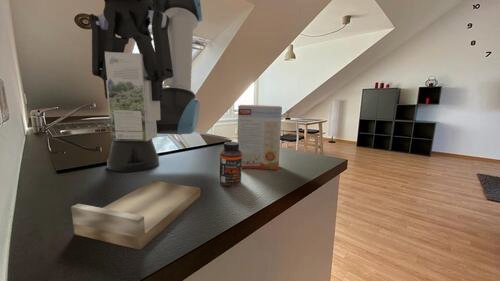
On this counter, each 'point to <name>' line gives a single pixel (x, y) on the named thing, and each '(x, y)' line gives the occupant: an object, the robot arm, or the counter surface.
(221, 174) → the supplement bottle
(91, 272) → the counter surface
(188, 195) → the shelf board
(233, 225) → the counter surface
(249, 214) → the counter surface
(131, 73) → the syrup box
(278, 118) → the cracker box
